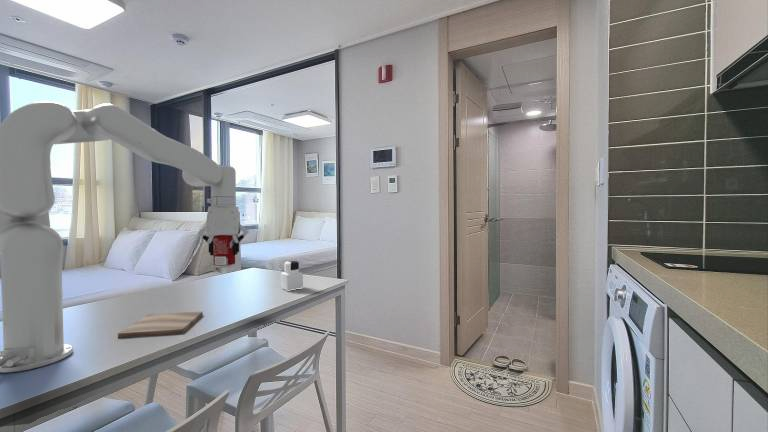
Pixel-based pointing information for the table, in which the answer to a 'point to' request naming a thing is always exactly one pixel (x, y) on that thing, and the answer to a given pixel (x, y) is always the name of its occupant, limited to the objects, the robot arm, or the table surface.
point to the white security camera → (291, 276)
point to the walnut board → (161, 324)
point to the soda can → (223, 251)
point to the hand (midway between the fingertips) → (224, 254)
